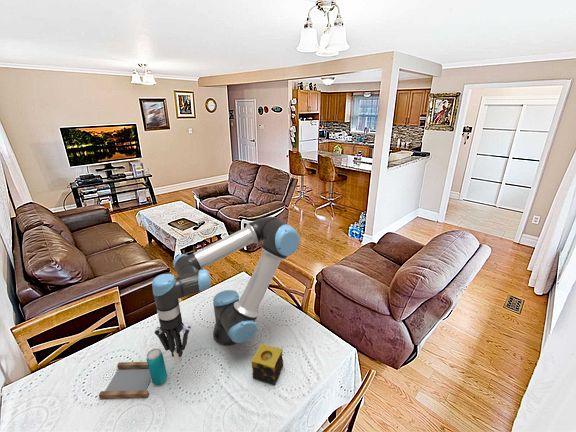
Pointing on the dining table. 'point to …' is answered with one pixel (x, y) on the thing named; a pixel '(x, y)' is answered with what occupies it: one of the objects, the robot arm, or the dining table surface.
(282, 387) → the dining table surface
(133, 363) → the rail right
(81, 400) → the dining table surface
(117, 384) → the mat
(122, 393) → the rail left
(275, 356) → the candle
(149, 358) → the beverage can
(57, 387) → the dining table surface
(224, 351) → the dining table surface
